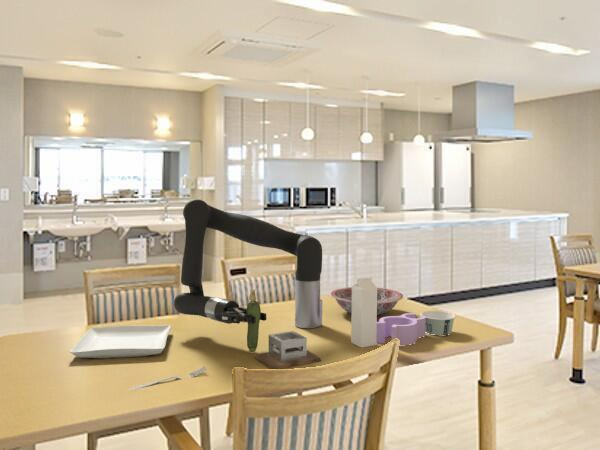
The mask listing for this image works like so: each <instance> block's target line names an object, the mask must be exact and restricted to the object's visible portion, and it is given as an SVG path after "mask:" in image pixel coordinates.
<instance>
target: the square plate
mask: <svg viewBox="0 0 600 450" xmlns="http://www.w3.org/2000/svg"><path fill="white" fill-rule="evenodd" d="M172 327H173V326H172V325H170V324H168V325H166V324H164V325H152V324H151V325H146V324H145V325H144V324H143V325H115V326H113V325H112V326H97V327H90V328H89V329H88V330H87V331H86V332H85V333H84V335H83V336H82V337H81V338H80V339H79V340H78V341H77V342H76V344H75V345H74V346H73V347H72V348H71V349H70V351H69V353H71V354H72V355H73V356H74V357H78V358H89V359H90V358H91V359H105V358H106V359H107V358H110V359H111V358H127V357H128V358H129V357H131V358H132V357H146V356H152V355H153V356H154V355H159V354H160V353H162V352H163V351H164V350H165V348H166V344H167V339H168V336H169V334H170V332H171V330H172Z"/></svg>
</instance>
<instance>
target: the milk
mask: <svg viewBox="0 0 600 450" xmlns="http://www.w3.org/2000/svg"><path fill="white" fill-rule="evenodd" d="M351 287H352V313H350V314H351V316H350V317H351V321H350V322H351V323H350V325H351V328H350V329H351V331H350V336H351V337H350V343H351V344H352V345H353V344H354V345H355V346H358V347H359V348H367V347H373V346H376V345H377V343H376V331H377V322H378V321H377V320H378V315H377V288H378V287H377V286H376V284H374V282H373V277H372V276H369V277H362V278H361V277H360V278H359V277H358V278H357V279H356V283H355V284H354V285H352V286H351Z"/></svg>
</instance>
